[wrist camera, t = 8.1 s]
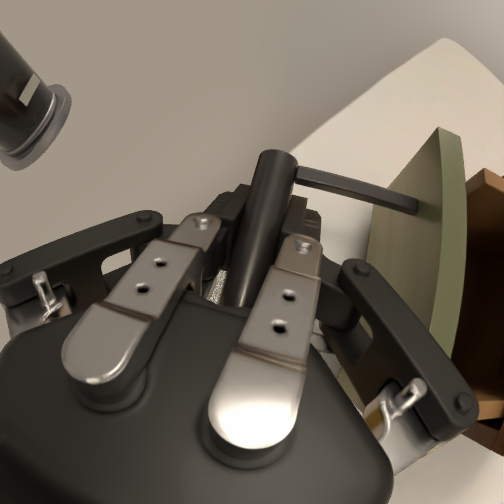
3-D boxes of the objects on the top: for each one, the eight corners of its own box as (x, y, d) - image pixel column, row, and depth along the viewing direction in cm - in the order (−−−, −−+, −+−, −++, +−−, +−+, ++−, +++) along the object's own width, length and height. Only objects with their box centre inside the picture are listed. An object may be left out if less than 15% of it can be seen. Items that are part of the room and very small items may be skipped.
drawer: (225, 359, 16) (177, 405, 7) (272, 178, 18) (271, 79, 9) (487, 395, 14) (565, 417, 5) (510, 252, 16) (585, 222, 7)
